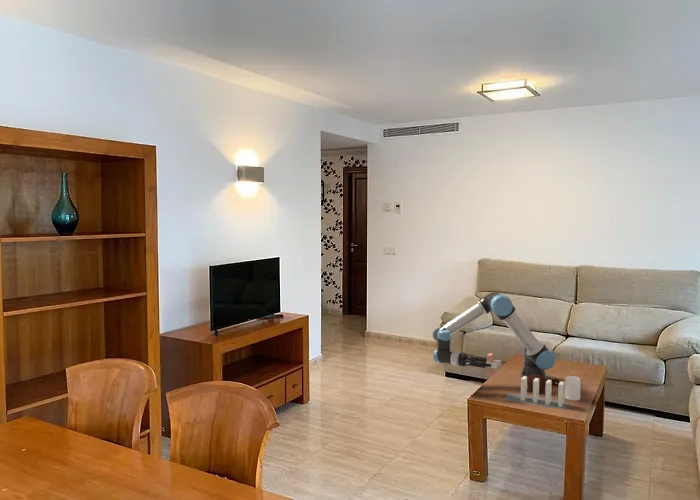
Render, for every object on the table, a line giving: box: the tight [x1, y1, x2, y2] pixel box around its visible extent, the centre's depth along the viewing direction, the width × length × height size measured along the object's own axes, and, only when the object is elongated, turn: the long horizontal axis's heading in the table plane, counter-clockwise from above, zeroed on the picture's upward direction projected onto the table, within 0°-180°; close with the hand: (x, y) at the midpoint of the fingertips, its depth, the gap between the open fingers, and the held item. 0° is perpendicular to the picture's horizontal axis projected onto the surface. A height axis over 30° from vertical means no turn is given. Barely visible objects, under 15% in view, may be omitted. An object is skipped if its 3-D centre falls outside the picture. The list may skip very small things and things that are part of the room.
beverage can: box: [564, 375, 582, 401], centre depth 305 cm, size 8×8×12 cm
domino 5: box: [557, 380, 565, 407], centre depth 293 cm, size 2×6×12 cm, turn 150°
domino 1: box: [485, 352, 494, 378], centre depth 312 cm, size 2×6×12 cm, turn 150°
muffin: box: [527, 374, 548, 394], centre depth 317 cm, size 12×11×10 cm
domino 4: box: [544, 379, 553, 405], centre depth 297 cm, size 2×6×12 cm, turn 150°
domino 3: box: [532, 378, 540, 403], centre depth 300 cm, size 2×6×12 cm, turn 150°
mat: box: [503, 392, 570, 411], centre depth 300 cm, size 13×32×1 cm, turn 60°
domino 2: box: [520, 376, 528, 401], centre depth 303 cm, size 2×6×12 cm, turn 150°
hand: (498, 364), depth 309 cm, fingers closed on domino 1, 6 cm apart
